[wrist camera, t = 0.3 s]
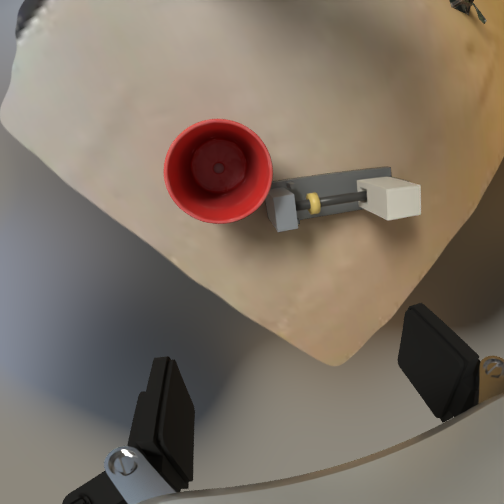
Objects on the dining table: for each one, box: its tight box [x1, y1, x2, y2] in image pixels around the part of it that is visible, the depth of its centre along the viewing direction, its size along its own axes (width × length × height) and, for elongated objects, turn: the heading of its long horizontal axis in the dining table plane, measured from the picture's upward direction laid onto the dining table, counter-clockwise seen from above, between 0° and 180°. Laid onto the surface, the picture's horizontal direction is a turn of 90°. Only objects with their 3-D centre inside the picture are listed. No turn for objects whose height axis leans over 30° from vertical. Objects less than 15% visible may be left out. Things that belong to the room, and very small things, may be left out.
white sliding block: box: [357, 177, 421, 221], centre depth 34 cm, size 5×4×8 cm
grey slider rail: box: [265, 167, 409, 232], centre depth 37 cm, size 19×6×7 cm, turn 99°
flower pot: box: [164, 119, 273, 224], centre depth 33 cm, size 11×11×10 cm
